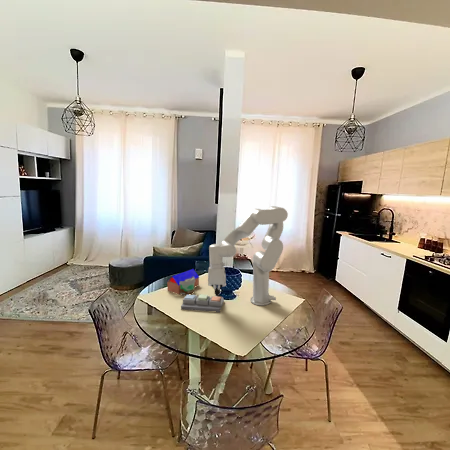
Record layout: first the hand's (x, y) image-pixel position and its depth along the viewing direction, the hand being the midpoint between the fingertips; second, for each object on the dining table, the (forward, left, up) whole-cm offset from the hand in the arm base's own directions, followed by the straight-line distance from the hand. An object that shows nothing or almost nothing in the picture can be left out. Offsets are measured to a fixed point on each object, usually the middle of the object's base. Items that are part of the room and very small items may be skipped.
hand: (217, 295), depth 151 cm
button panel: (+9, 0, -7) cm, 11 cm away
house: (+29, -24, -7) cm, 38 cm away
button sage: (+9, 0, -4) cm, 10 cm away
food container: (+22, -15, -7) cm, 27 cm away
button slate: (+17, 0, -4) cm, 17 cm away
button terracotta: (+1, 0, -5) cm, 5 cm away
